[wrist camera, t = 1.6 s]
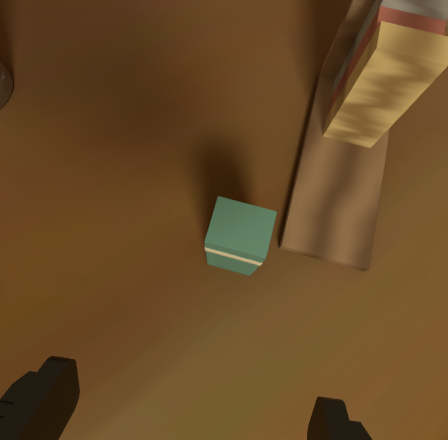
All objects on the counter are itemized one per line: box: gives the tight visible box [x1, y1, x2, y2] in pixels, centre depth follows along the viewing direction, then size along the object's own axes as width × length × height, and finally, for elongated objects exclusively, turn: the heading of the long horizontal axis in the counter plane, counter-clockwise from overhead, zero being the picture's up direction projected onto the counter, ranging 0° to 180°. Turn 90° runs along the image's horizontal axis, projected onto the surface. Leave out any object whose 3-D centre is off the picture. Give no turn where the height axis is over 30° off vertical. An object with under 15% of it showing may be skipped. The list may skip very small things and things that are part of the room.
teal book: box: [205, 196, 277, 276], centre depth 32 cm, size 5×4×12 cm
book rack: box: [279, 0, 448, 271], centre depth 33 cm, size 10×26×18 cm, turn 165°
